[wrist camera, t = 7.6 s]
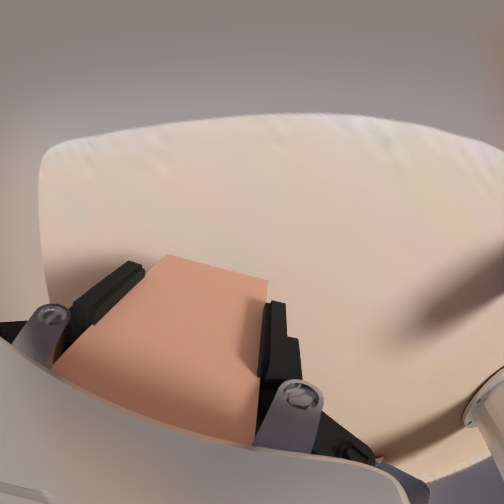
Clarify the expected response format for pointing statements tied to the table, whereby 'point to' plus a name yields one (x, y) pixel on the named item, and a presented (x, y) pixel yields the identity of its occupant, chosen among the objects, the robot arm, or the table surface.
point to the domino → (179, 349)
